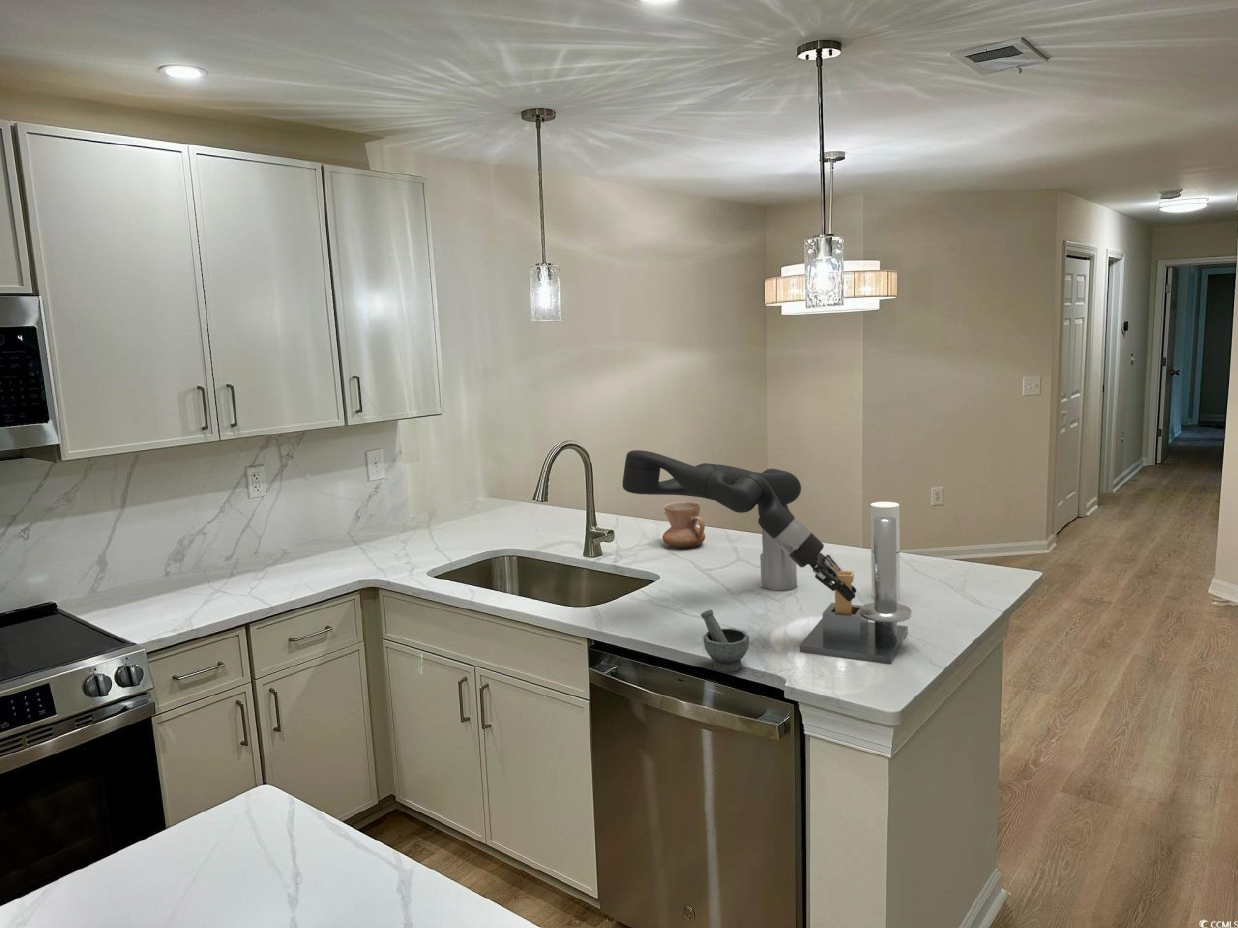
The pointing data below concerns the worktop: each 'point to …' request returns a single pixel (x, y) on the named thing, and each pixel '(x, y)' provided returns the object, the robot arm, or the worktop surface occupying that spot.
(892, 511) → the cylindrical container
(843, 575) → the orange square peg
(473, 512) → the worktop surface
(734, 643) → the mortar and pestle
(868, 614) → the grey fixture with cylinder
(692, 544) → the ceramic jug
